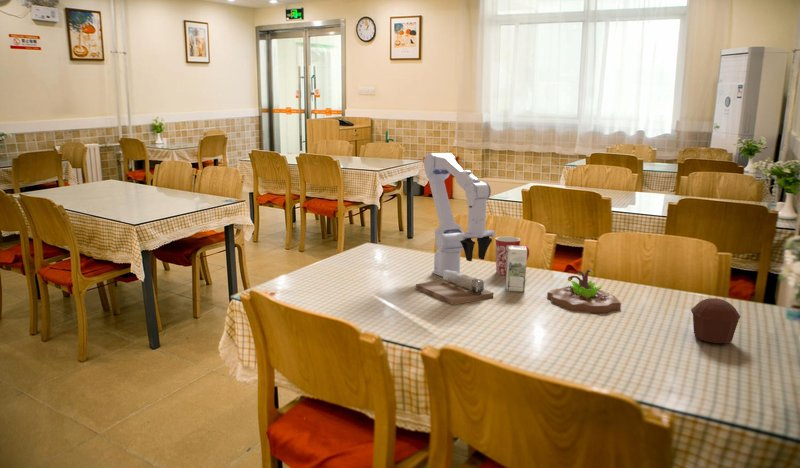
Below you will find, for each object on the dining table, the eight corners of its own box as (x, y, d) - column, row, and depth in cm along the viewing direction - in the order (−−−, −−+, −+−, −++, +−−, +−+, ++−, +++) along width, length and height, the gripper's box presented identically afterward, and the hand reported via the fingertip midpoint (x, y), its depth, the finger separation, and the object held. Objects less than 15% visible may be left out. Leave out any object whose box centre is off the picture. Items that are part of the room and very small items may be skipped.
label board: (415, 288, 192) (416, 282, 191) (454, 282, 200) (454, 276, 200) (452, 304, 175) (452, 298, 175) (493, 297, 183) (493, 291, 183)
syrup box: (522, 287, 195) (525, 245, 192) (524, 292, 189) (527, 249, 186) (505, 287, 195) (507, 244, 192) (507, 292, 189) (509, 248, 187)
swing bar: (485, 291, 181) (485, 281, 181) (476, 292, 179) (476, 282, 179) (450, 278, 196) (451, 268, 196) (442, 279, 194) (442, 270, 194)
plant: (572, 315, 168) (575, 278, 166) (539, 296, 187) (541, 262, 185) (631, 310, 173) (635, 274, 171) (593, 292, 192) (596, 259, 190)
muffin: (694, 326, 160) (699, 291, 158) (740, 336, 153) (745, 299, 151) (683, 338, 151) (687, 301, 149) (731, 349, 144) (736, 310, 142)
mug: (489, 275, 209) (490, 238, 207) (500, 270, 217) (502, 235, 214) (521, 281, 202) (523, 243, 200) (532, 276, 209) (534, 239, 207)
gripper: (467, 222, 183) (465, 264, 185) (501, 219, 190) (499, 259, 193) (453, 219, 189) (452, 260, 191) (487, 216, 196) (486, 255, 199)
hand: (475, 259), depth 193 cm, fingers open, 5 cm apart
